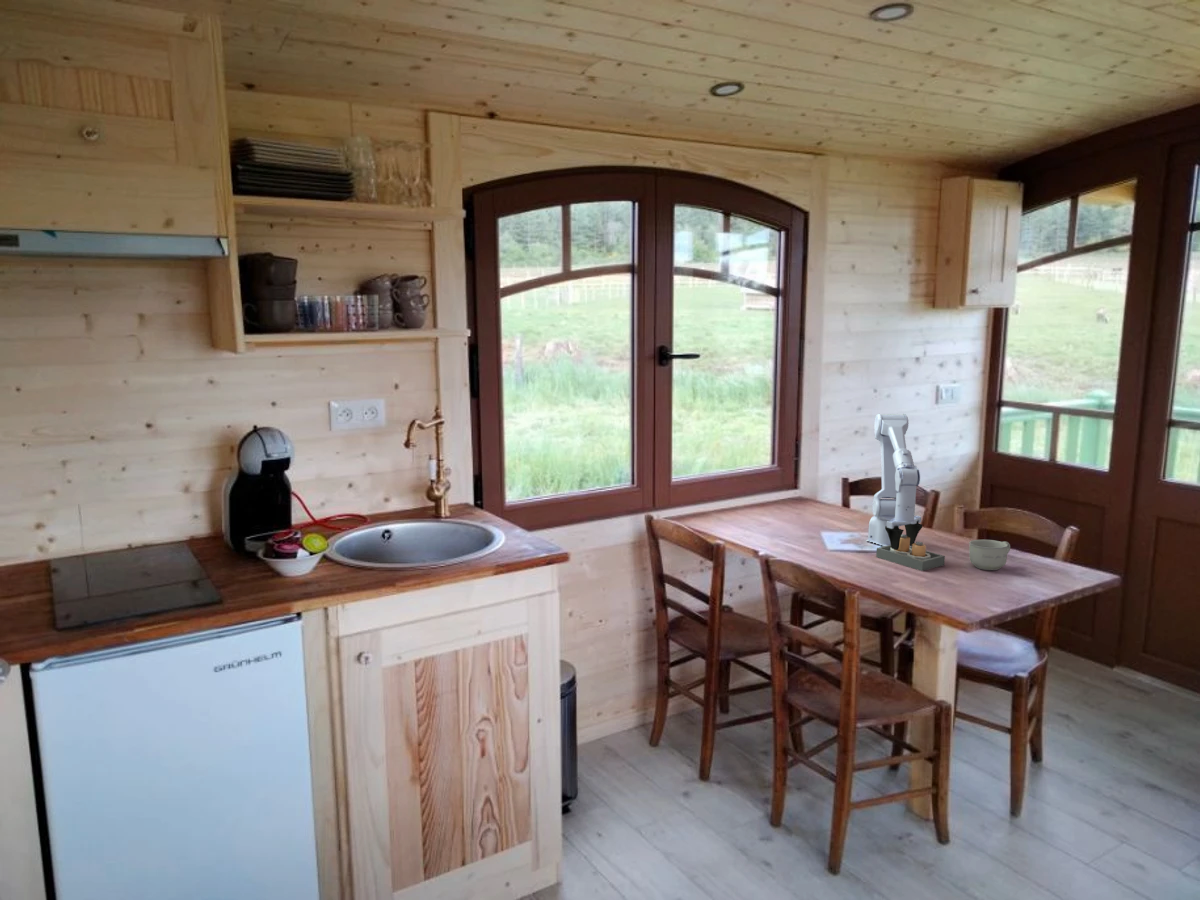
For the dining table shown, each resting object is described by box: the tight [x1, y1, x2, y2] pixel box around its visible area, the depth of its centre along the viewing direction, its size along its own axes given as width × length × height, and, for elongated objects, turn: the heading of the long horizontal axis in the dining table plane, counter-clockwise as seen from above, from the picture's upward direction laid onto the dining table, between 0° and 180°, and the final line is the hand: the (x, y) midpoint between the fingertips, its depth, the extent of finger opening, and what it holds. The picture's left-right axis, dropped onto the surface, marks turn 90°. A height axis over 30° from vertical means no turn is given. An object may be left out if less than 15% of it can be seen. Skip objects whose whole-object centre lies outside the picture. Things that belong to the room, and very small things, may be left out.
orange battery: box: [896, 533, 910, 552], centre depth 263 cm, size 4×4×7 cm
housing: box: [875, 541, 946, 572], centre depth 261 cm, size 17×11×7 cm, turn 33°
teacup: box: [968, 539, 1011, 571], centre depth 255 cm, size 14×11×8 cm
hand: (902, 547), depth 263 cm, fingers open, 7 cm apart
